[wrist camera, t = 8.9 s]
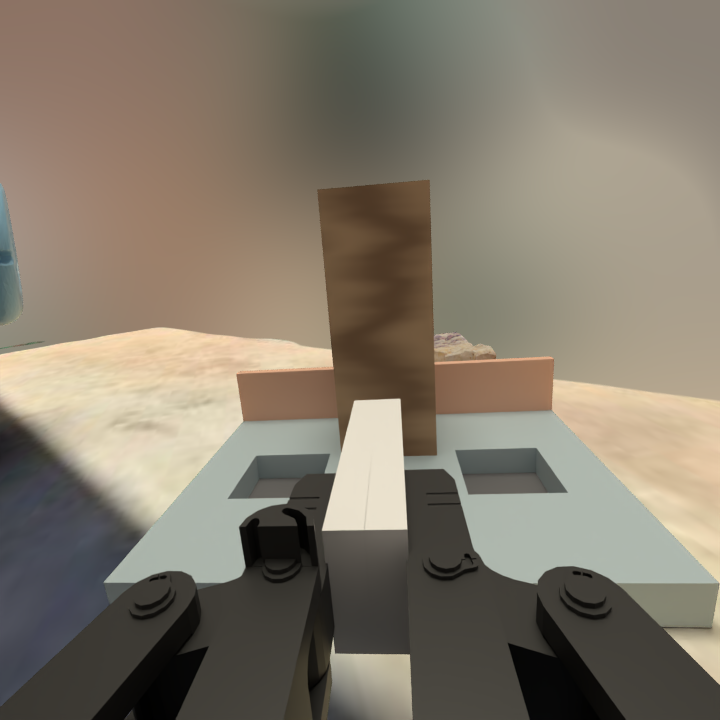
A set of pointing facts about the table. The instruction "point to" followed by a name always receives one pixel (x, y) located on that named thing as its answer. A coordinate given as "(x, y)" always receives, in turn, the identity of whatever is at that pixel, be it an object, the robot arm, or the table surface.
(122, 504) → the table surface
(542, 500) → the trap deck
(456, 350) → the mineral specimen
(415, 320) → the walnut block
